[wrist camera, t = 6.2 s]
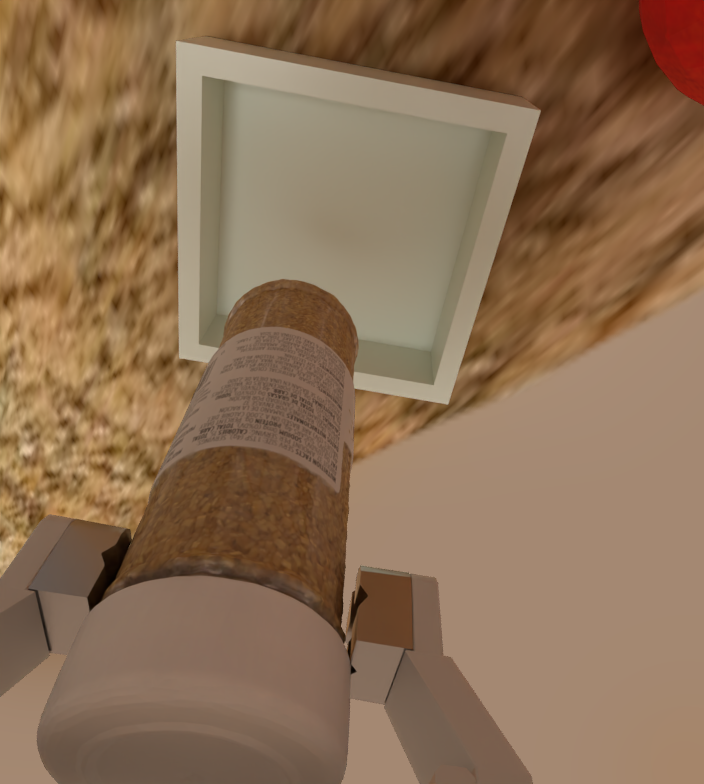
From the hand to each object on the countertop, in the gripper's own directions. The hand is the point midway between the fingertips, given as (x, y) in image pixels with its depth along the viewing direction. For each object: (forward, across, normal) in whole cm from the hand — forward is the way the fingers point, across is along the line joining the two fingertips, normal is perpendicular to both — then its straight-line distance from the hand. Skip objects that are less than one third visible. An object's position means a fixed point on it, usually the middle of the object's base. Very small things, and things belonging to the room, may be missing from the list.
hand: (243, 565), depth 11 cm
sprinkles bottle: (+10, 0, 0) cm, 10 cm away
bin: (+21, 0, 0) cm, 21 cm away
